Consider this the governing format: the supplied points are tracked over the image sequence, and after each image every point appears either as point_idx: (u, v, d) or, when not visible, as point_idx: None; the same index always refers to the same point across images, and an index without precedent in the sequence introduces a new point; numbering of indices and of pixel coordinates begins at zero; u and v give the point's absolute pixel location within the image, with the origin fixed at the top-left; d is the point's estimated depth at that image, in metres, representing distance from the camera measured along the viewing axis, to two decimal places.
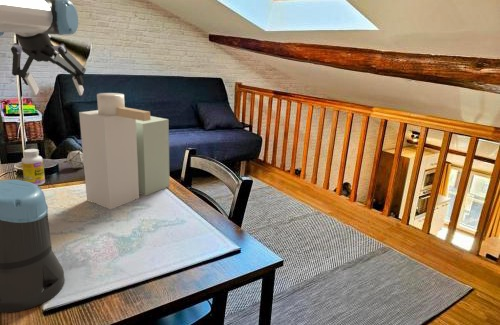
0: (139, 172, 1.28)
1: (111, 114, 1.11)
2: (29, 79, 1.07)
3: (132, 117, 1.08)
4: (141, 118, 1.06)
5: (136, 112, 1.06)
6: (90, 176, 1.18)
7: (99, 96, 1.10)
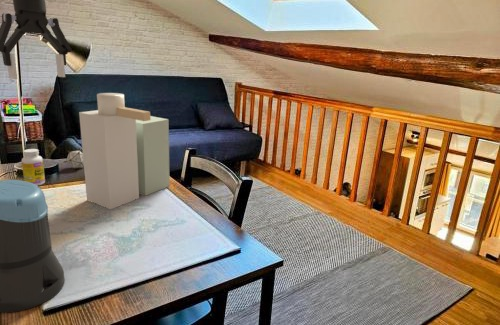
0: (139, 172, 1.28)
1: (111, 114, 1.11)
2: None
3: (132, 117, 1.08)
4: (141, 118, 1.06)
5: (136, 112, 1.06)
6: (90, 176, 1.18)
7: (99, 96, 1.10)
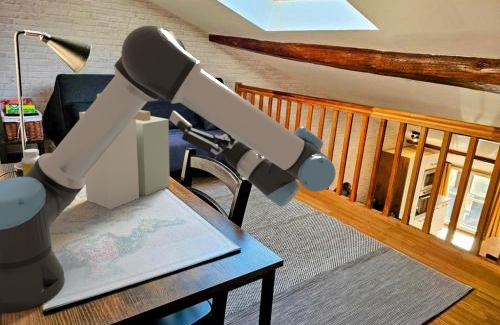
0: (139, 172, 1.28)
1: None
2: None
3: None
4: (141, 118, 1.06)
5: None
6: (90, 176, 1.18)
7: None
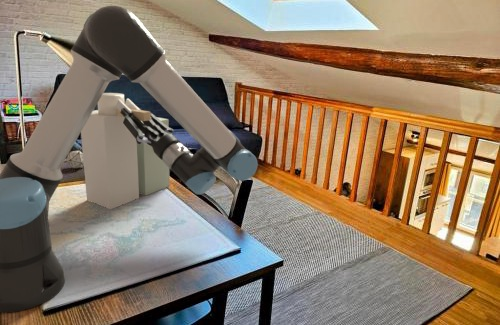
0: (139, 172, 1.28)
1: (111, 114, 1.11)
2: None
3: None
4: (141, 118, 1.06)
5: (136, 112, 1.06)
6: (90, 176, 1.18)
7: None
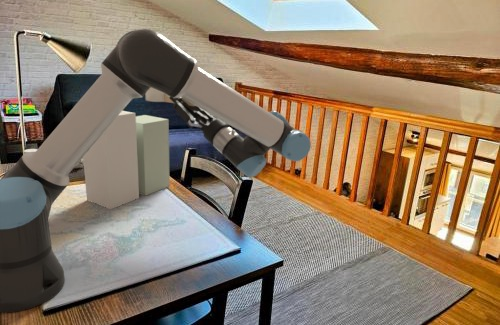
0: (139, 172, 1.28)
1: (159, 100, 1.13)
2: None
3: None
4: (190, 103, 1.08)
5: None
6: (90, 176, 1.18)
7: None
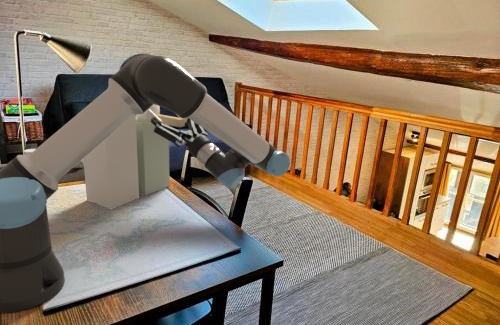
0: (139, 172, 1.28)
1: (149, 121, 1.24)
2: None
3: (168, 123, 1.21)
4: (177, 124, 1.19)
5: (172, 119, 1.20)
6: (90, 176, 1.18)
7: None
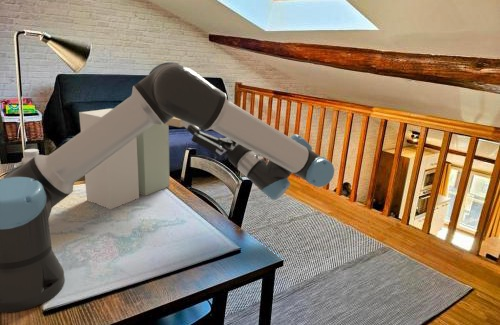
0: (139, 172, 1.28)
1: None
2: None
3: (168, 123, 1.21)
4: (177, 124, 1.19)
5: (172, 119, 1.20)
6: (90, 176, 1.18)
7: None
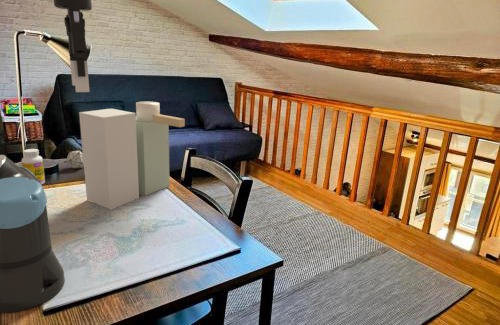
0: (139, 172, 1.28)
1: (149, 121, 1.24)
2: None
3: (168, 123, 1.21)
4: (177, 124, 1.19)
5: (172, 119, 1.20)
6: (90, 176, 1.18)
7: (138, 105, 1.23)
